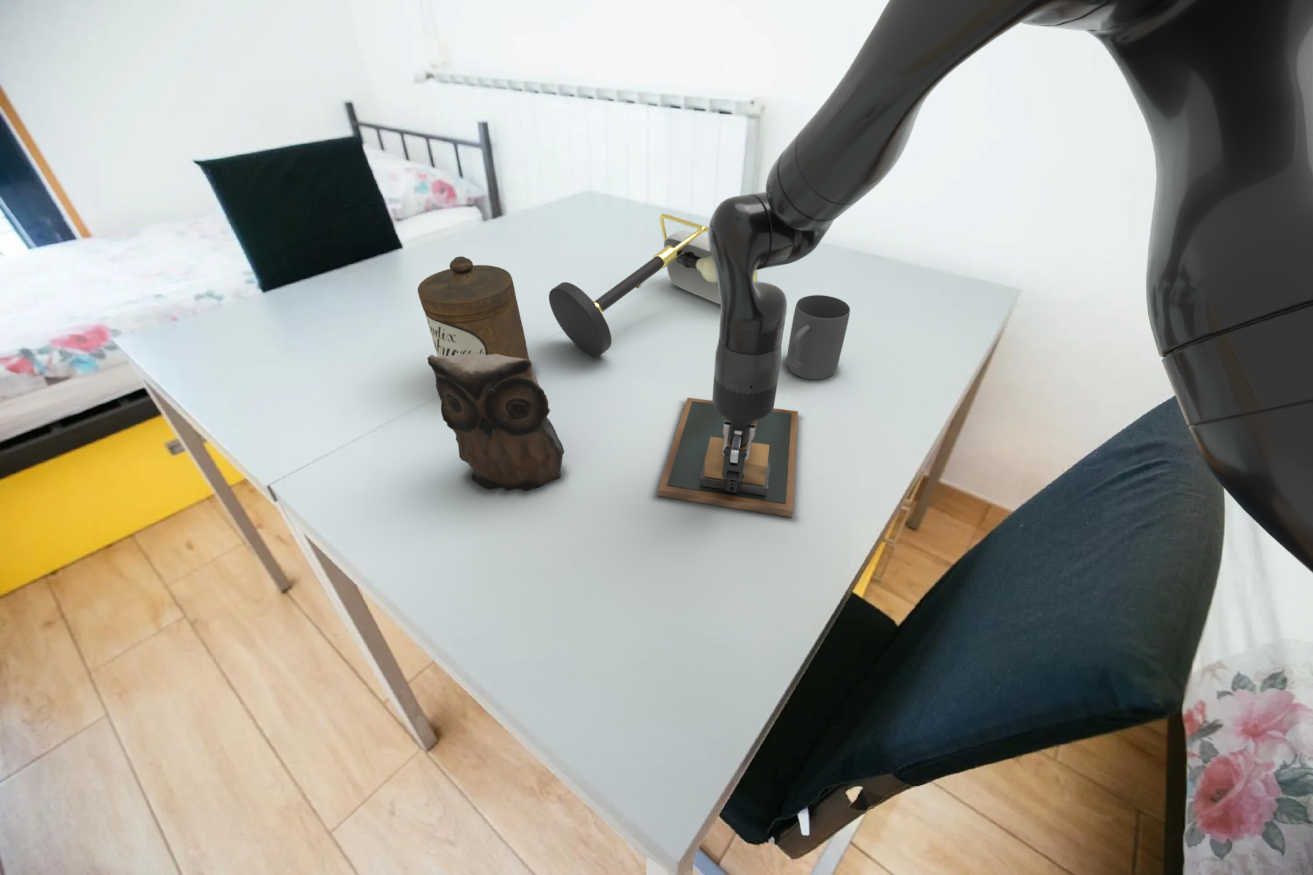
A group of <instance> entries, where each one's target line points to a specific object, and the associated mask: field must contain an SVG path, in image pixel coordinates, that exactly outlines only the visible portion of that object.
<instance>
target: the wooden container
mask: <svg viewBox="0 0 1313 875" xmlns="http://www.w3.org/2000/svg"><path fill="white" fill-rule="evenodd" d="M515 290H516V289H515V285H514V281H513V277H512V275H511V273H510V272H509V271H508V270H506V269H505V268H502V267H499V266H494V265H489V264H474V263H473V261H472V260H471V259H470V258H467V257H465V256H456V257H453V259H452V260H451V261H450V263H449V268H447V269H444V270H441V271H439V272H435V273H433V274H431V275H429V276H427V277H426V278H424V279H423V280H422V281H421V282H420V283H419V285H418V286H417V293H418V294H417V295H418V298H419V301H420V304H421V307H422V310H423V312H424V314H425V315H424V316H425V317H426V321H427V324H428V328H429V331H430V335H431V338H432V342H433V347H434V349H435V350H434V351H435V353H436V357H438V356H454V355H460V354H476V353H477V354H484V355H492V354H499V355H503V356H507V357H515V358H522V359H528V360H530V357H529V351H528V346H527V341H526V336H525V332H524V328H523V327H524V326H523V323H522V316H521V313H520V309H519V304H518V300H517V294H516V291H515ZM530 370H531V371H532V368H531V369H530Z"/></svg>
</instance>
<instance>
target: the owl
mask: <svg viewBox="0 0 1313 875" xmlns="http://www.w3.org/2000/svg"><path fill="white" fill-rule="evenodd" d="M427 364H428V365H429V367H431V369H432V371H433V373H434V376H435V387H436V390H437V394H438V398H439V399H440V402H441V403H440V412H441V416H442V419H443V421H444V422H445V423H446V426H447V427H448V428H449V429H451V430H452V431H453V432H454V434H455V440H456V443H457V447H458V454H459V455H458V456H459V458H460V459H461V461H463V462H465V463H467V464H468V465H469V466H470V468H471V469H472V470H473V472H472V473H471V480H472V481H474V482H475V483H476V484H477V485H479V486H481V487H482V488H483V489H486V490H488V491H492V490H495V489H501V488H503V489H504V491H505V492H506V491H512V490H515V489H516V490H520V489H522V490H523V491H524V492H528V491H530V490H533V489H538V488H540V487H542V486H543V485H545V484H547V483H549V482H552V481H554V480H558V479H560V478H561V477H562V471H561V468H562V464H563V458H564V457H563V456H564V454H565V449H564V446H563V443H562V441H561V439H560V438H559V436H558V434H557V431H556V429H555V427H554V425H553V423H552V422H551V420H550V419H549V418H548V415H549V414H550V412H551V409H550V408H549V400H548V398H547V395H546V394H545V390H544V389H543V388H542V387H541V385H540V384H539V383H538V380H537V379H538V378H537V376H536V374H534V373H533V371H532V361H531V360H530V359H529V360H528V359H522V358H515V357H507V356H503V355H499V354H492V355H484V354H477V353H476V354H460V355H454V356H436V355H433V354H430V355H429V356H427ZM530 369H531V370H530Z"/></svg>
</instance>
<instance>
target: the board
mask: <svg viewBox="0 0 1313 875" xmlns="http://www.w3.org/2000/svg"><path fill="white" fill-rule="evenodd" d="M798 419H799V411H797V410H790V409H782V408H774V407H773V410H772V411H771V413H770V414H769V415H768V416H766V417H765V418H763V419H760V420H757V423H756V429H755V436H754V438H753V439H752V443H759V444H766V445H770V447H769V455H768V463H770V471H769V480H768V489H767V495H766V496H764V495H757V494H751V493H745V492H740V493H738V494H736V493H730V492H725V491H724V489H719V488H713V487H707V486H700V476H701V472H702V468H703V464H704V460H705V456H706V453H707V449H708V445H709V441H710V437H717V438H724V434H723V428H724V421H726V417H724V416H722V415H721V414H720V413H719V412H718V411H717V410H716V409H715V407H714V405H713V401H712V399H704V398H703V399H701V398H695V397H687V398H686V401H685V404H684V407H683V410H682V414H681V416H680V420H679V424H678V427H677V430H676V432H675V436H674V438H673V442H672V445H671V448H670V451H669V455H668V458H667V460H666V464H665V466H664V470H663V473H662V477H661V479H660V483H659V486H658V489H657V496H658V497H662V498H669V499H674V500H680V501H687V502H694V503H699V504H707V505H710V506H711V505H712V506H717V507H718V506H720V507H725V508H729V509H730V508H731V509H735V510H744V511H749V512H755V513H761V514H769V515H775V516H781V517H786V518H792V517H793V514H794V504H795V503H794V502H795V501H794V500H795V484H796V483H795V481H796V463H797V462H796V460H797V440H798Z"/></svg>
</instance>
